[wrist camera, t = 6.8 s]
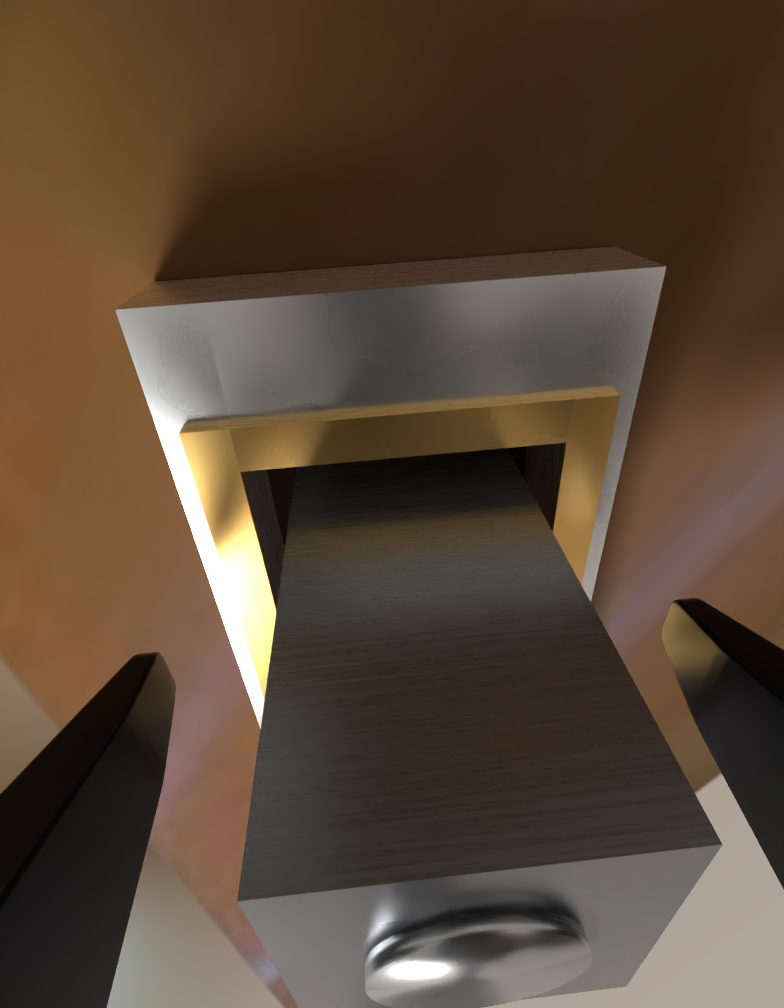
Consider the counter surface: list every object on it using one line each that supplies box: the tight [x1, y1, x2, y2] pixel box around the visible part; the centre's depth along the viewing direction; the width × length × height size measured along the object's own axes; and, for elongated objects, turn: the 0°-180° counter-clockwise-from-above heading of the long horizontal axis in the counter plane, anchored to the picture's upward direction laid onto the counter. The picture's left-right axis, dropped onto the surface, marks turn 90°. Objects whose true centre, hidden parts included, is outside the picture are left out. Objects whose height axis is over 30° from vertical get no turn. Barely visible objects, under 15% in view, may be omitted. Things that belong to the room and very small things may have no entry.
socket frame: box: [116, 246, 666, 729], centre depth 15 cm, size 24×8×2 cm, turn 3°
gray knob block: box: [237, 448, 722, 1008], centre depth 9 cm, size 4×4×8 cm
